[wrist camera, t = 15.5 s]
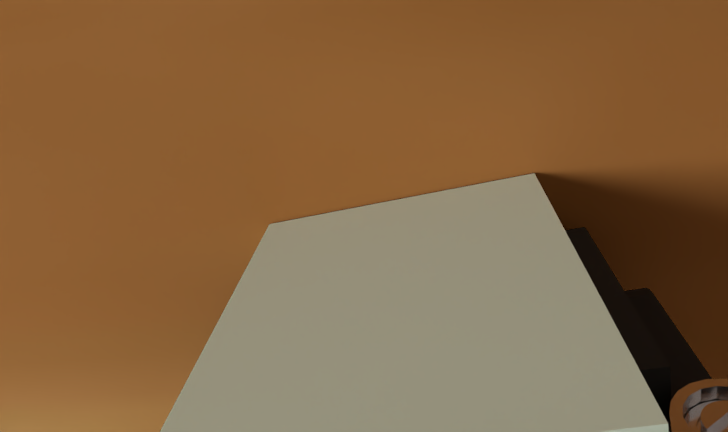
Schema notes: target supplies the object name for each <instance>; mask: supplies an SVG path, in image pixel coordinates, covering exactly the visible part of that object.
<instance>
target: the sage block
mask: <svg viewBox="0 0 728 432" xmlns="http://www.w3.org/2000/svg"><path fill="white" fill-rule="evenodd" d="M160 432H669V428H668V422H667V420H666V418H665V416H664V415H663V413H662V411H661V409H660V407H659V405H658V403H657V402H656V400H655V398H654V396H653V394H652V392H651V390H650V388H649V387H648V385H647V383H646V381H645V379H644V377H643V375H642V373H641V372H640V370H639V368H638V366H637V364H636V362H635V360H634V358H633V357H632V355H631V353H630V351H629V349H628V347H627V345H626V344H625V342H624V340H623V338H622V336H621V334H620V332H619V330H618V329H617V327H616V325H615V323H614V321H613V319H612V317H611V315H610V314H609V312H608V310H607V308H606V306H605V304H604V302H603V300H602V299H601V297H600V295H599V293H598V291H597V289H596V287H595V286H594V284H593V282H592V280H591V278H590V276H589V274H588V272H587V271H586V269H585V267H584V265H583V263H582V261H581V259H580V257H579V256H578V254H577V252H576V250H575V248H574V246H573V244H572V243H571V241H570V239H569V237H568V235H567V233H566V231H565V229H564V228H563V226H562V224H561V222H560V220H559V218H558V216H557V214H556V213H555V211H554V209H553V207H552V205H551V203H550V201H549V199H548V198H547V196H546V194H545V192H544V190H543V188H542V186H541V185H540V183H539V181H538V179H537V177H536V175H535V173H533V174H528V175H523V176H517V177H512V178H507V179H502V180H497V181H491V182H486V183H481V184H476V185H471V186H465V187H460V188H455V189H450V190H445V191H439V192H434V193H429V194H424V195H419V196H413V197H408V198H403V199H398V200H393V201H387V202H382V203H377V204H372V205H367V206H361V207H356V208H351V209H346V210H341V211H335V212H330V213H325V214H320V215H315V216H309V217H304V218H299V219H294V220H289V221H283V222H278V223H273V224H269V226H268V228H267V230H266V232H265V234H264V236H263V237H262V239H261V241H260V243H259V245H258V247H257V249H256V251H255V253H254V255H253V256H252V258H251V260H250V262H249V264H248V266H247V268H246V270H245V272H244V273H243V275H242V277H241V279H240V281H239V283H238V285H237V287H236V289H235V290H234V292H233V294H232V296H231V298H230V300H229V302H228V304H227V306H226V307H225V309H224V311H223V313H222V315H221V317H220V319H219V321H218V323H217V325H216V326H215V328H214V330H213V332H212V334H211V336H210V338H209V340H208V342H207V343H206V345H205V347H204V349H203V351H202V353H201V355H200V357H199V359H198V360H197V362H196V364H195V366H194V368H193V370H192V372H191V374H190V376H189V378H188V379H187V381H186V383H185V385H184V387H183V389H182V391H181V393H180V395H179V396H178V398H177V400H176V402H175V404H174V406H173V408H172V410H171V412H170V413H169V415H168V417H167V419H166V421H165V423H164V425H163V427H162V429H161V430H160Z"/></svg>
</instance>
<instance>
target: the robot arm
mask: <svg viewBox="0 0 728 432" xmlns="http://www.w3.org/2000/svg"><path fill="white" fill-rule="evenodd" d="M565 231H566V233H567V235H568V237H569V239H570V241H571V243H572V244H573V246H574V248H575V250H576V252H577V254H578V256H579V257H580V259H581V261H582V263H583V265H584V267H585V269H586V271H587V272H588V274H589V276H590V278H591V280H592V282H593V284H594V286H595V287H596V289H597V291H598V293H599V295H600V297H601V299H602V300H603V302H604V304H605V306H606V308H607V310H608V312H609V314H610V315H611V317H612V319H613V321H614V323H615V325H616V327H617V329H618V330H619V332H620V334H621V336H622V338H623V340H624V342H625V344H626V345H627V347H628V349H629V351H630V353H631V355H632V357H633V358H634V360H635V362H636V364H637V366H638V368H639V370H640V372H641V373H642V375H643V377H644V379H645V381H646V383H647V385H648V387H649V388H650V390H651V392H652V394H653V396H654V398H655V400H656V402H657V403H658V405H659V407H660V409H661V411H662V413H663V415H664V416H665V418H666V420H667V422H668V428H669V432H728V379H724V378H723V379H712V378H711V377H710V375H709V374H708V372H707V371H706V370H705V368H704V367H703V365H702V364H701V362H700V361H699V359H698V358H697V356H696V355H695V354H694V352H693V351H692V349H691V348H690V346H689V345H688V343H687V342H686V341H685V339H684V338H683V336H682V335H681V333H680V332H679V330H678V329H677V328H676V326H675V325H674V323H673V322H672V320H671V319H670V317H669V316H668V315H667V313H666V312H665V310H664V309H663V307H662V306H661V304H660V303H659V302H658V300H657V299H656V297H655V296H654V294H653V293H652V292H651V291H650V290H649V289H647V288H642V289H635V290H628V291H624V290H623V288H622V287H621V285H620V284H619V282H618V280H617V279H616V277H615V275H614V274H613V272H612V270H611V269H610V267H609V266H608V264H607V262H606V261H605V259H604V257H603V256H602V254H601V252H600V251H599V249H598V248H597V246H596V244H595V243H594V241H593V239H592V238H591V236H590V234H589V233H588V231H587V230H586V228H585V227H582V228H576V229H571V230H565Z"/></svg>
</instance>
